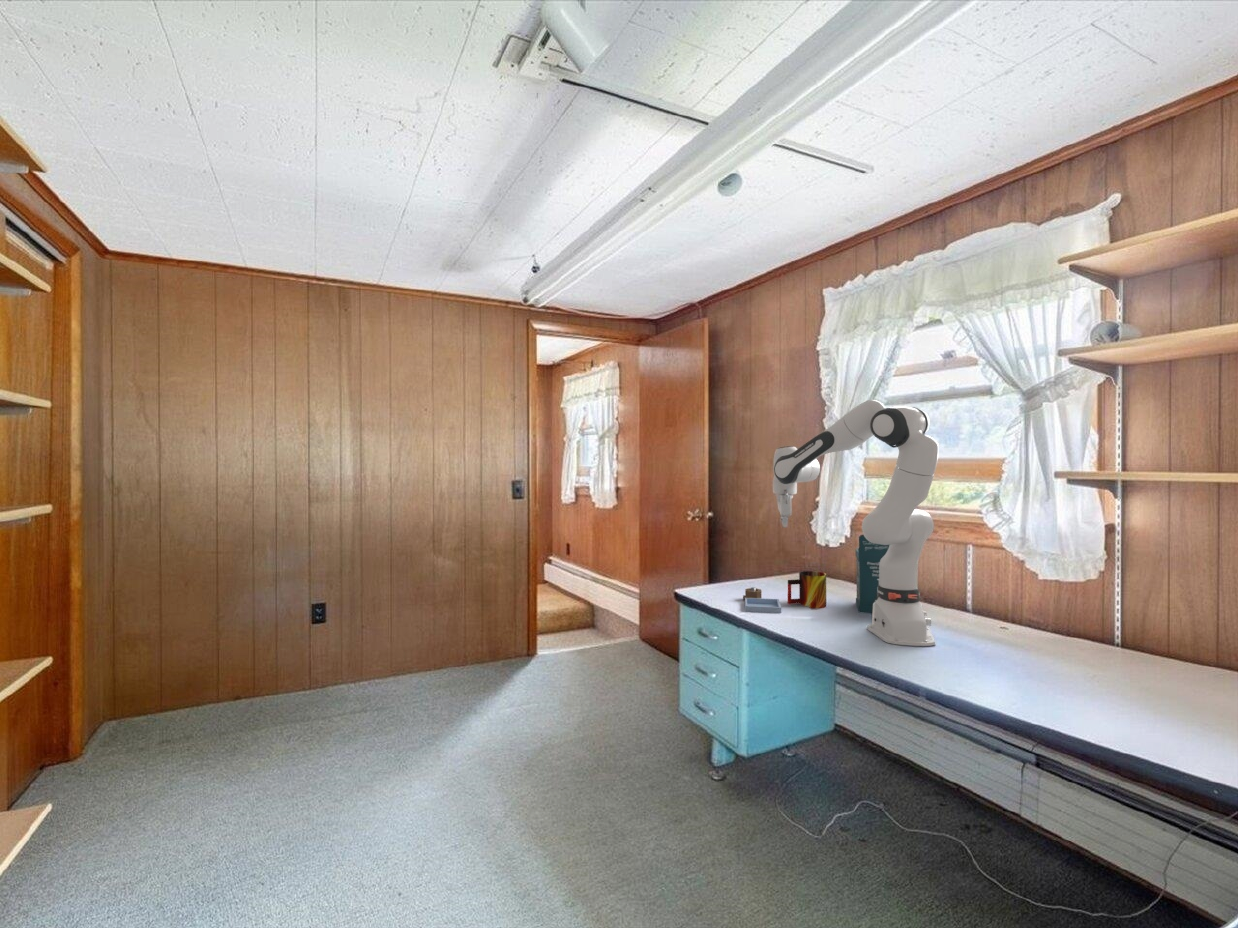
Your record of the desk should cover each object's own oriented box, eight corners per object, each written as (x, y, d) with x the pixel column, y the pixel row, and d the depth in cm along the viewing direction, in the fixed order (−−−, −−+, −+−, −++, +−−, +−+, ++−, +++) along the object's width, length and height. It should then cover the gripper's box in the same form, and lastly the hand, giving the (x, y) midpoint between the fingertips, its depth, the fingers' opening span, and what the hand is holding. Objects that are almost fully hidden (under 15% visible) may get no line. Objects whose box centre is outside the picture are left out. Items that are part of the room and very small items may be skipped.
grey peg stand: (763, 604, 220) (763, 590, 220) (744, 603, 221) (744, 589, 221) (762, 599, 227) (762, 586, 227) (744, 599, 228) (743, 585, 228)
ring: (761, 602, 221) (761, 592, 220) (743, 601, 222) (743, 591, 222) (761, 598, 226) (760, 588, 226) (743, 597, 228) (742, 587, 228)
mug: (786, 606, 217) (786, 574, 217) (809, 600, 225) (809, 569, 225) (808, 611, 209) (808, 578, 209) (831, 605, 217) (831, 573, 217)
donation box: (859, 612, 208) (858, 534, 207) (854, 601, 223) (854, 528, 223) (908, 615, 203) (908, 535, 203) (900, 604, 218) (900, 530, 218)
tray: (781, 614, 206) (781, 607, 206) (745, 613, 208) (745, 606, 208) (778, 605, 218) (778, 598, 218) (745, 604, 220) (745, 597, 220)
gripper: (795, 491, 209) (795, 529, 210) (791, 486, 229) (790, 521, 230) (777, 491, 211) (777, 528, 211) (774, 486, 230) (774, 520, 231)
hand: (784, 525), depth 221 cm, fingers open, 8 cm apart
